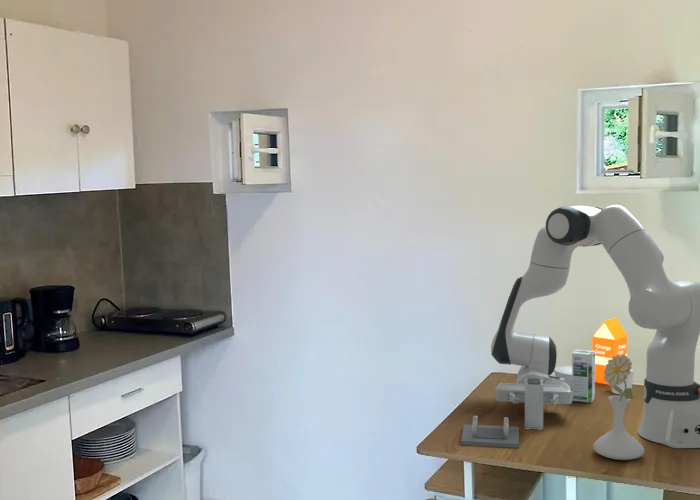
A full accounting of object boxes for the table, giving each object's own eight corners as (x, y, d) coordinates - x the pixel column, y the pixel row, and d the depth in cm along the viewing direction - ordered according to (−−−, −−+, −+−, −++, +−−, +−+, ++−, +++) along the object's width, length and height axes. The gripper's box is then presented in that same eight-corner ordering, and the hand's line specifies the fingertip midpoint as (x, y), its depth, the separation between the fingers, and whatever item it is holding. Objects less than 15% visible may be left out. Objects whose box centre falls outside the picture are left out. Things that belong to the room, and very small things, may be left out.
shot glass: (630, 396, 230) (631, 373, 230) (607, 393, 234) (607, 370, 233) (635, 390, 236) (635, 368, 235) (612, 387, 240) (612, 365, 239)
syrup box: (571, 401, 226) (571, 352, 225) (575, 395, 232) (576, 348, 230) (591, 403, 224) (592, 354, 222) (595, 398, 229) (595, 350, 228)
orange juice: (591, 381, 248) (592, 319, 246) (604, 376, 254) (605, 316, 252) (614, 385, 242) (615, 322, 240) (627, 380, 248) (628, 318, 247)
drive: (542, 423, 207) (542, 378, 206) (543, 430, 201) (543, 384, 200) (524, 422, 208) (524, 377, 207) (525, 429, 202) (525, 383, 201)
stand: (518, 430, 201) (518, 413, 200) (518, 447, 188) (518, 429, 188) (464, 428, 204) (464, 411, 203) (460, 444, 191) (460, 427, 191)
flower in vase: (587, 447, 188) (588, 346, 186) (635, 447, 187) (637, 345, 185) (601, 467, 175) (603, 358, 173) (653, 467, 174) (655, 358, 172)
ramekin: (586, 392, 235) (586, 375, 235) (549, 388, 241) (549, 371, 240) (594, 384, 245) (594, 367, 244) (559, 380, 250) (559, 364, 250)
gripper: (495, 375, 219) (494, 388, 206) (569, 378, 215) (573, 391, 202) (495, 397, 220) (494, 411, 207) (569, 400, 216) (573, 415, 202)
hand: (534, 401), depth 204 cm, fingers open, 8 cm apart
